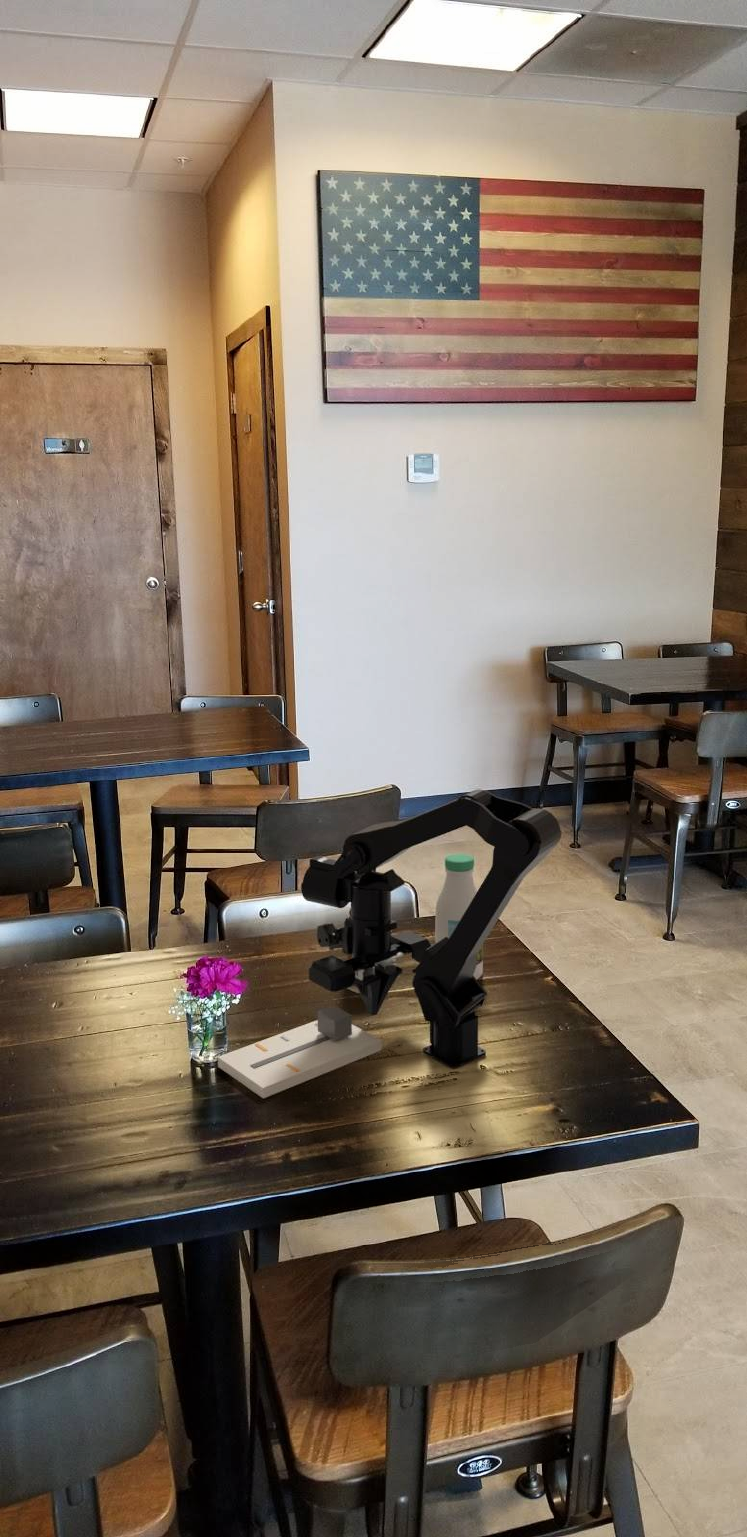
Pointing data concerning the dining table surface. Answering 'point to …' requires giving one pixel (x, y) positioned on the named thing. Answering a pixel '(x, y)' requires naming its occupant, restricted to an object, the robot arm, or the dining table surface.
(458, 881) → the milk bottle
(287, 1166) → the dining table surface
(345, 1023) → the fader
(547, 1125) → the dining table surface
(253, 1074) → the console
